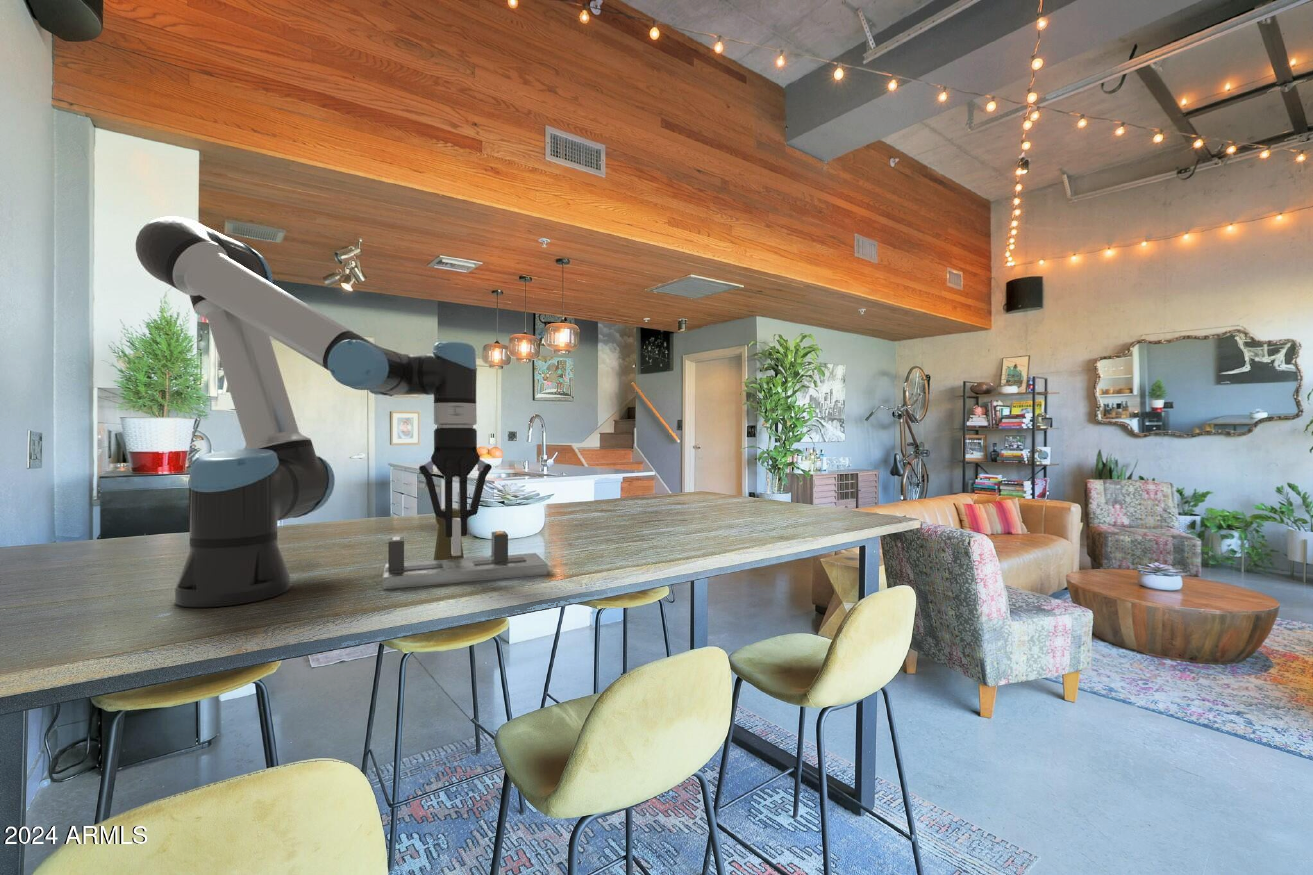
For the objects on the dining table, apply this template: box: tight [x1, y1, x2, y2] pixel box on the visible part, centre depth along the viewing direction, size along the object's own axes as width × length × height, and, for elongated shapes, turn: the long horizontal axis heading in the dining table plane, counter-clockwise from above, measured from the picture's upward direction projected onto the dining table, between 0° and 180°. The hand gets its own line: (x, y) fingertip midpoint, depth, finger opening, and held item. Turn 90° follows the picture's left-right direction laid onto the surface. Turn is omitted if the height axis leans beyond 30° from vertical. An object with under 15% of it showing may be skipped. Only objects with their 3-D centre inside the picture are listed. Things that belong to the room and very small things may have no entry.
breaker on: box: [387, 536, 405, 571], centre depth 105 cm, size 2×4×5 cm, turn 23°
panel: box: [382, 552, 549, 590], centre depth 110 cm, size 28×11×2 cm, turn 113°
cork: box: [433, 507, 465, 561], centre depth 121 cm, size 6×6×11 cm
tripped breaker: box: [490, 530, 509, 562], centre depth 112 cm, size 2×4×5 cm, turn 23°
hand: (456, 554), depth 109 cm, fingers closed
